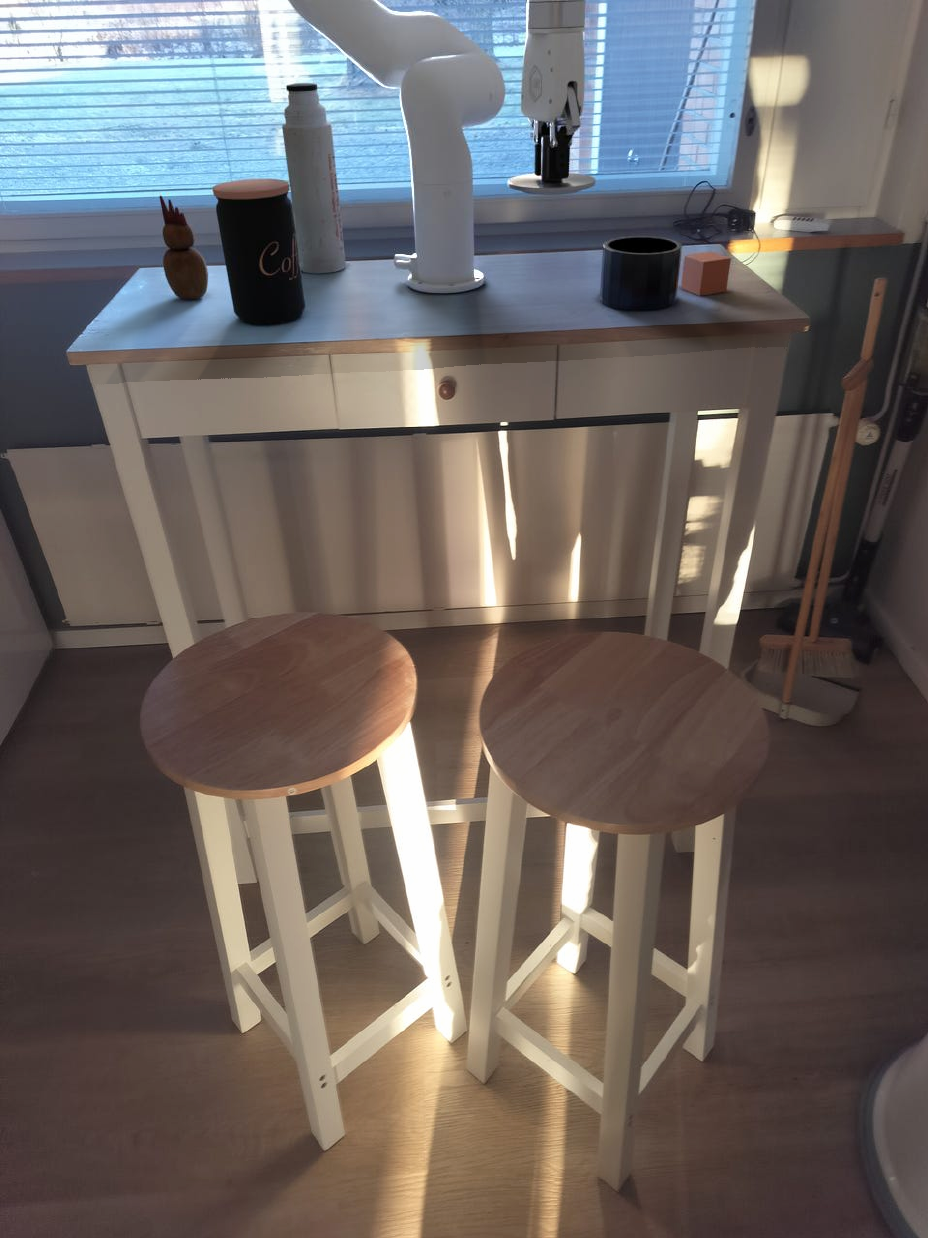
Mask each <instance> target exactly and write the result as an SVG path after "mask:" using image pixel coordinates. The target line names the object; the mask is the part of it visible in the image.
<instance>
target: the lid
mask: <svg viewBox="0 0 928 1238" xmlns="http://www.w3.org/2000/svg"><path fill="white" fill-rule="evenodd" d="M548 147H551V141H550V135H543V136H542V147H541V176H536V175H535V173H528V174H522V175H521V174H520V175H517V176H514V177H511V178H509V179H508V180H507V187H508V188H510V189H512V190H515V191H518V192H519V191H520V192H521V193H525V194H527V195H528V194H529V195H535V196H536V195H537V196H538V195H539V196H560V195H568V194H575V193H579V192H581V191H583V190H587V189H590V188H593V187H595V186H596V178H595V177H593V176H591V175H587V174H582V173H572V172H569V177H568V178H564V179H555V180H549V179H548V178H547V157H548Z"/></svg>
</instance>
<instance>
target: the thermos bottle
mask: <svg viewBox="0 0 928 1238" xmlns="http://www.w3.org/2000/svg"><path fill="white" fill-rule="evenodd" d="M285 87H286V88H285V89H286V91H287V92H288V95H287V99H288V106H286V107H285V108H284V113H283V116H284V119H285V123H284V124H282V126H281V129H282V137H283V144H284V152H285V159H286V160H285V161H286V166H287V174H288V183H289V188H290V190H289V192H290V198H291V203H292V208H293V216H294V224H295V231H296V239H297V247H298V254H299V262H300V270H301V272H304V273H308V274H330V273H335V272H340V271H342V270H345V268H346V266H347V264H346V255H345V245H344V235H343V224H342V216H341V215H342V214H341V205H340V196H339V195H340V194H339V187H338V176H337V165H336V156H335V146H334V137H333V126H332V123H331V122H330V121H328V120H327V119H328V118H327V114H328V113H327V112H326V107H325V106H324V105H323V104H321V102H320V96H319V93H318V84H317V83H313V82H312V83H311V82H297V83H291V84H286V85H285Z"/></svg>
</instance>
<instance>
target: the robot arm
mask: <svg viewBox="0 0 928 1238" xmlns="http://www.w3.org/2000/svg"><path fill="white" fill-rule="evenodd" d="M287 1H288V2H289V4H290V5H291V7H292V8H293V9H294V10H295V12H296V13H297V14H298V15H299V17H301V18H302V19H303V20H304V21H305V22H306V23H307V24H308V25H310V27H312V28H314V30H316V32H318V33H319V34H321V35H322V36H323V37H325V38H326V39H327V40H328V41H330V42H331V43H332V44H333V45H334V46H335V47H336V48H337V49H339V50H340V51H341V52H342V54H344V56H346V57H347V58H348V59H349V60H350V61H352V62H353V63H354V64H355V65H356V66H358V67H359V68H360V70H362V71H363V72H364V73H365V74H367V75H368V76H369V77H370V78H372V80H374V81H375V82H376V83H377V84H378V85H380V86H381V87H383V88H388V89H400V90H399V102H400V108H401V113H402V117H403V123H404V127H405V132H406V136H407V142H408V143H407V144H408V152H409V162H410V179H411V191H412V192H411V195H412V208H413V210H412V211H413V229H414V247H415V248H414V249H415V253H412V255H407V254H395V255H394V257H393V264H394V267H395V269H396V270H408V271H409V272H410V274H409V276H407V285H408V286H409V288H411V289H412V290H415V291H418V292H422V293H429V294H456V293H461V292H463V293H464V292H469V291H472V290H475V289H477V288H480V287H481V286H483V285H484V283H485V275H484V273H483V272H481V271H479V270H478V269H475V227H474V226H475V223H474V178H473V177H474V175H473V173H474V171H473V169H474V168H473V161H472V159H473V158H472V154H471V149H470V146H469V144H468V141H467V139H466V136H465V133H464V130H463V129H464V128H471V127H476V126H479V125H484V124H487V123H488V122H490V121H492V120H493V119H495V118H496V116H497V115H498V114H499V113H500V111H501V110H502V108H503V105H504V102H505V99H506V98H505V97H506V85H505V80H504V76H503V74H502V71H501V69H500V67H499V66H498V64H497V62H496V61H495V60H494V59H493V58H492V57H491V56H490V55H489V54H488V53H487V52H486V51H485V50H483V49H482V48H481V47H480V46H478V45H477V44H476V43H475V42H474V41H473V40H472V39H471V38H469V37H468V36H467V35H465V34H464V33H463V32H462V31H461V30H459V29H458V28H457V27H456V26H455V25H453V24H452V23H451V22H450V21H449V20H447V19H445V18H444V17H442V16H440V15H438V14H436V13H432V12H426V11H413V12H412V11H410V12H402V11H401V12H400V11H393V10H390V9H389V8H387V6H384V5H383V4H382V3H380V2H379V1H378V0H287ZM586 1H587V0H527V1H526V2H527V3H526V37H525V42H524V51H523V59H522V71H521V91H520V93H521V94H520V111H521V112H520V113H521V114H522V115H523V116H524V117H525V118H527V120H528V121H529V123H530V124H531V128H532V130H533V143H534V174H535V175H536V176H541V147H542V136H543V135H550V141H551V147H548V157H547V178H548V179H549V180H555V179H564V178H568V177H569V173H570V161H571V157H570V156H571V147H572V145H573V137H574V135H575V133H576V132H577V131H578V130H579V129H580V127H581V117H582V115H583V111H584V110H583V109H584V100H585V43H584V42H585V41H584V32H585V30H586V26H585V25H586V8H587V7H586V6H587V2H586ZM558 118H561V119H558ZM559 126H560V127H559Z"/></svg>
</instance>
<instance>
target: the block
mask: <svg viewBox="0 0 928 1238" xmlns="http://www.w3.org/2000/svg"><path fill="white" fill-rule="evenodd" d="M683 257H684V258H683V267H682V275H681V284H680V289H681V290H684V291H687V292H689V293H692V294H694V295H696V296H699V297H700V296H709V295H713V294H720V293H726V292H727V287H728V281H729V274H730V267H731V260H732V258H731V257H729V256H726V255H723V254H720V253H717V252H715V251H712V250H711V251H703V252H697V253H689V254H684V256H683Z"/></svg>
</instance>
